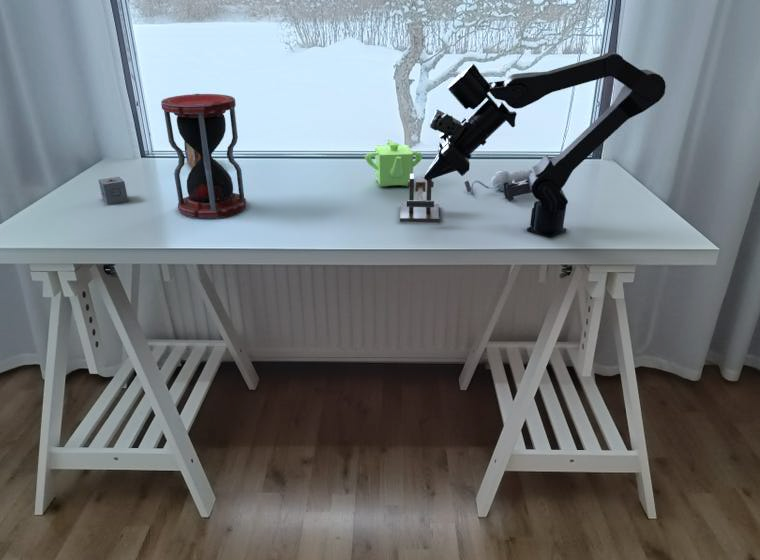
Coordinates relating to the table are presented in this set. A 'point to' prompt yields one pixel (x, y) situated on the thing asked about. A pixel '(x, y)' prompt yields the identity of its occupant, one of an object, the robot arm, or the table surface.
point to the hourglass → (205, 154)
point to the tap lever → (420, 195)
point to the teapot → (393, 163)
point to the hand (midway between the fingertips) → (425, 178)
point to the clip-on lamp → (508, 183)
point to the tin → (191, 155)
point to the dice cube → (113, 190)
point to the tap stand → (419, 212)
